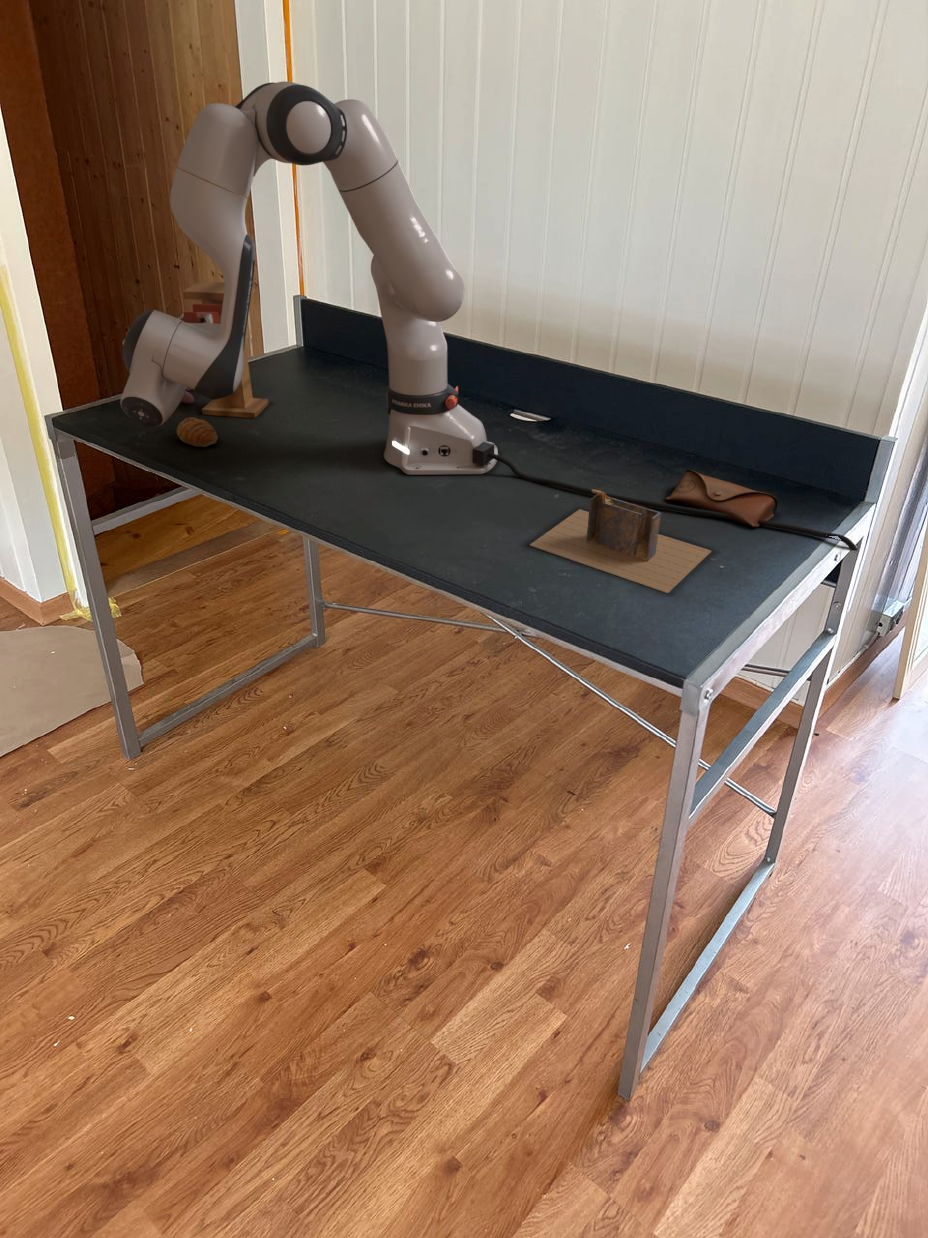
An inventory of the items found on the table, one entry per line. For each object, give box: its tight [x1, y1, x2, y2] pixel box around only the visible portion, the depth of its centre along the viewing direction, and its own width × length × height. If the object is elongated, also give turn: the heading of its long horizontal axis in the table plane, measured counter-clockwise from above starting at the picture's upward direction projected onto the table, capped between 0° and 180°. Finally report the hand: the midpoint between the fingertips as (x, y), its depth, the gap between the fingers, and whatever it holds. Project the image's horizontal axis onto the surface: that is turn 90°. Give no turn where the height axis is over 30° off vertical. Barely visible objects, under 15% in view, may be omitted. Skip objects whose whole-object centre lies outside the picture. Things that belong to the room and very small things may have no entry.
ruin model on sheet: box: [529, 488, 712, 594], centre depth 148 cm, size 25×16×10 cm, turn 54°
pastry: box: [175, 416, 219, 448], centre depth 186 cm, size 9×7×4 cm
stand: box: [182, 280, 269, 419], centre depth 195 cm, size 12×9×26 cm
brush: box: [182, 303, 223, 324], centre depth 174 cm, size 8×17×4 cm, turn 172°
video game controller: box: [180, 387, 195, 404], centre depth 206 cm, size 10×5×7 cm, turn 17°
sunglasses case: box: [665, 469, 779, 528], centre depth 163 cm, size 18×7×7 cm, turn 52°
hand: (198, 316), depth 170 cm, fingers closed on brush, 2 cm apart
